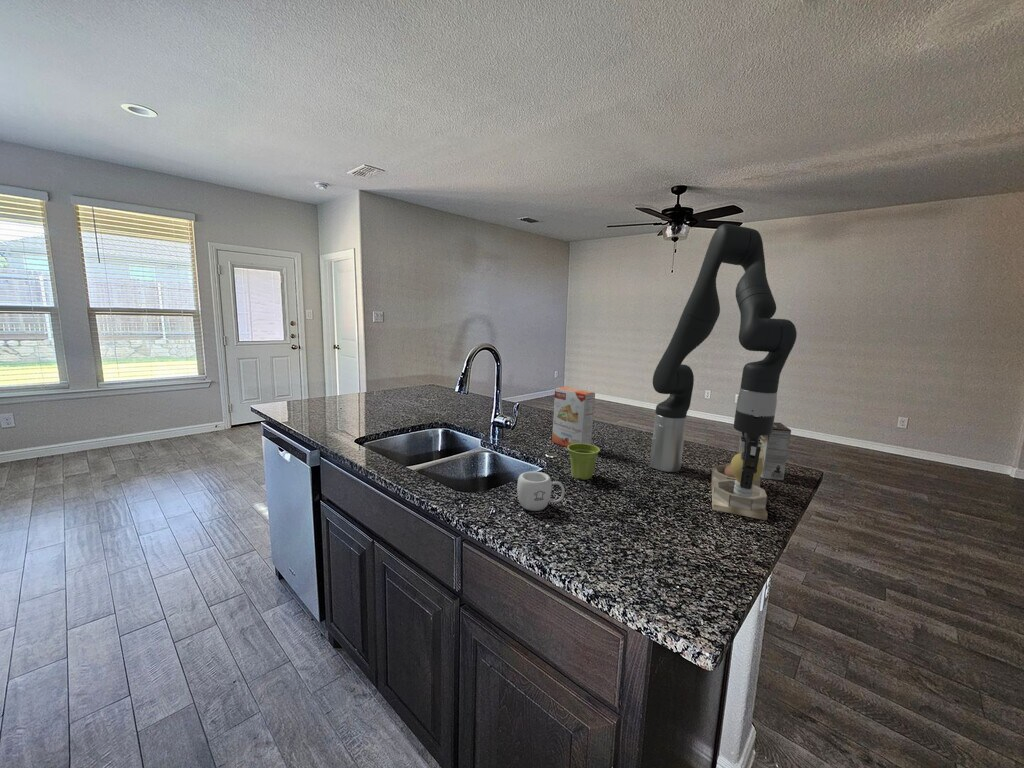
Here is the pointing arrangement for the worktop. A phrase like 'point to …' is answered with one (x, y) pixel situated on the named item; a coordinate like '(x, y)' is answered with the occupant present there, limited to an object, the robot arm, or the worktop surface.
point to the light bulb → (737, 471)
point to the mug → (536, 490)
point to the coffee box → (775, 452)
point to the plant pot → (582, 460)
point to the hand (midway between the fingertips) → (744, 481)
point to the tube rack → (736, 496)
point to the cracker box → (573, 416)
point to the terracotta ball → (729, 471)
